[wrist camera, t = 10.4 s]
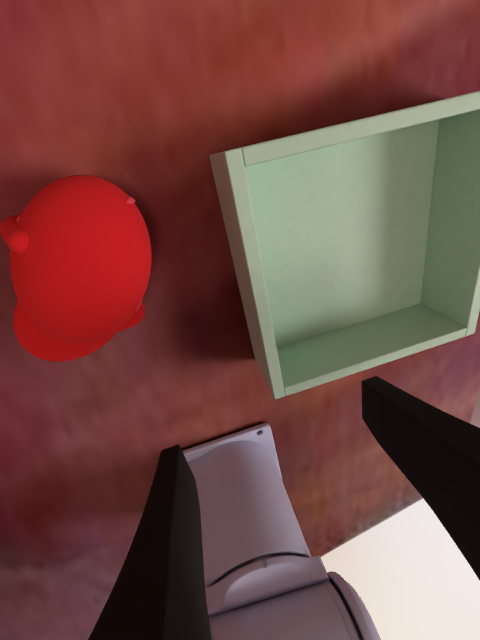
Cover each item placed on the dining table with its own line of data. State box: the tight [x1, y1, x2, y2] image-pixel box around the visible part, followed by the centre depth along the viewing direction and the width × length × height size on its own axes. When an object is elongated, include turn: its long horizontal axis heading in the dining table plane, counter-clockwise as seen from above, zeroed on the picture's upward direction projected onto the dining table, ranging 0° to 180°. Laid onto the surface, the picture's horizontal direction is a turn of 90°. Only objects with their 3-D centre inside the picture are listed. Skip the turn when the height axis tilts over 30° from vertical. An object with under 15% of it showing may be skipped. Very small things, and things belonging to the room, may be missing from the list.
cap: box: [0, 175, 152, 361], centre depth 14 cm, size 8×6×6 cm
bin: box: [209, 91, 480, 400], centre depth 17 cm, size 14×13×4 cm
